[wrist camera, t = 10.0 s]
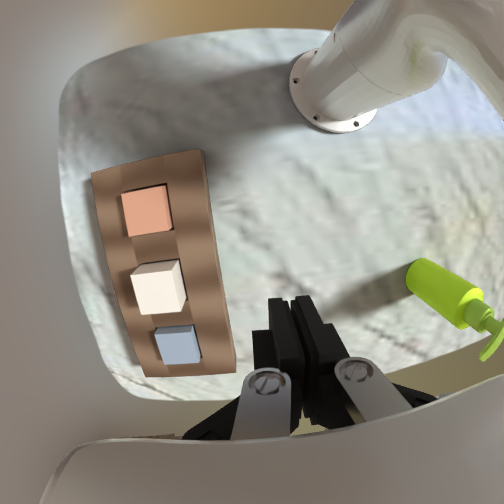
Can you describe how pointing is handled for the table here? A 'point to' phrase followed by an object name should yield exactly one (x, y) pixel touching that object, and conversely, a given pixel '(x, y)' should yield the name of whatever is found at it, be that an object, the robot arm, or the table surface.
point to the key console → (168, 259)
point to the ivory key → (159, 287)
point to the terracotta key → (147, 211)
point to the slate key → (178, 344)
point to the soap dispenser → (455, 300)
